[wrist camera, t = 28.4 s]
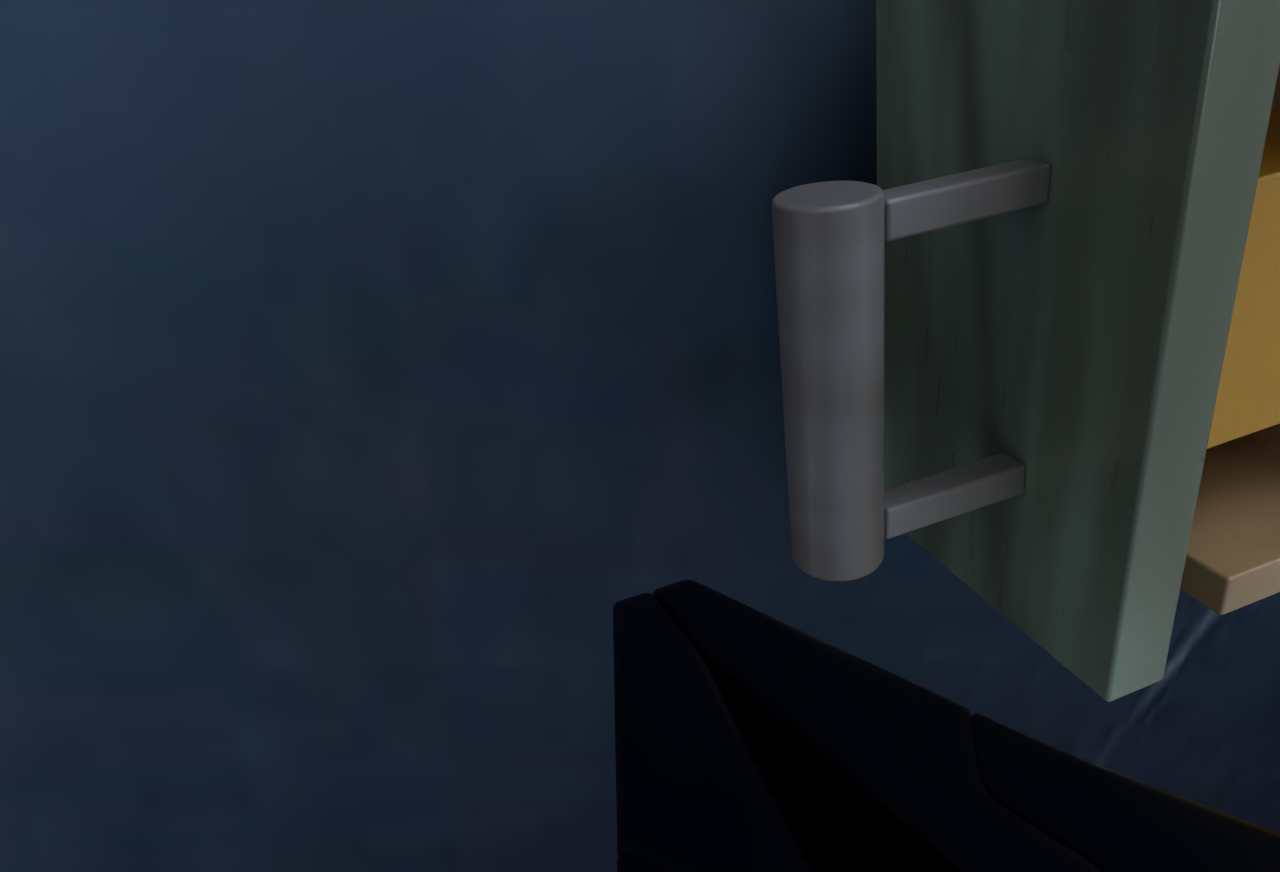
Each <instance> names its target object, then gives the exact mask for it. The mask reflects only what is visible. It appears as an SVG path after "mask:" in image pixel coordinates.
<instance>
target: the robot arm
mask: <svg viewBox="0 0 1280 872" xmlns="http://www.w3.org/2000/svg"><path fill="white" fill-rule="evenodd" d="M613 638H614V692H615V746H616V800H617V852H618V860H617V872H1280V833H1277V832H1274V831H1272V830H1269V829H1266V828H1264V827H1261V826H1258V825H1255V824H1253V823H1250V822H1247V821H1245V820H1242V819H1239V818H1237V817H1234V816H1231V815H1228V814H1226V813H1223V812H1220V811H1218V810H1215V809H1212V808H1209V807H1207V806H1204V805H1201V804H1199V803H1196V802H1193V801H1191V800H1188V799H1185V798H1182V797H1180V796H1177V795H1174V794H1172V793H1169V792H1166V791H1163V790H1161V789H1158V788H1155V787H1153V786H1150V785H1147V784H1145V783H1142V782H1139V781H1136V780H1134V779H1131V778H1129V777H1126V776H1124V775H1121V774H1119V773H1116V772H1113V771H1111V770H1108V769H1106V768H1103V767H1101V766H1098V765H1096V764H1093V763H1090V762H1088V761H1085V760H1083V759H1080V758H1078V757H1075V756H1073V755H1070V754H1068V753H1066V752H1063V751H1061V750H1059V749H1056V748H1054V747H1052V746H1050V745H1047V744H1045V743H1043V742H1040V741H1038V740H1036V739H1034V738H1031V737H1029V736H1027V735H1025V734H1022V733H1020V732H1018V731H1015V730H1013V729H1011V728H1009V727H1007V726H1005V725H1002V724H1000V723H998V722H996V721H994V720H992V719H990V718H987V717H985V716H983V715H981V714H979V713H975V714H973V715H972V717H971V712H970V710H969V709H967V708H965V707H963V706H961V705H959V704H957V703H955V702H952V701H950V700H948V699H946V698H944V697H942V696H940V695H937V694H935V693H933V692H931V691H929V690H927V689H925V688H922V687H920V686H918V685H916V684H914V683H912V682H910V681H907V680H905V679H903V678H901V677H899V676H897V675H895V674H892V673H890V672H888V671H886V670H884V669H882V668H880V667H877V666H875V665H873V664H871V663H869V662H867V661H865V660H862V659H860V658H858V657H856V656H854V655H852V654H850V653H847V652H845V651H843V650H841V649H839V648H837V647H835V646H832V645H830V644H828V643H826V642H824V641H822V640H820V639H817V638H815V637H813V636H811V635H809V634H807V633H805V632H802V631H800V630H798V629H796V628H794V627H792V626H790V625H787V624H785V623H783V622H781V621H779V620H777V619H775V618H772V617H770V616H768V615H766V614H764V613H762V612H760V611H757V610H755V609H753V608H751V607H749V606H747V605H745V604H742V603H740V602H738V601H736V600H734V599H732V598H730V597H727V596H725V595H723V594H721V593H719V592H717V591H715V590H712V589H710V588H708V587H706V586H704V585H702V584H700V583H697V582H695V581H693V580H682V581H679V582H676V583H673V584H670V585H667V586H664V587H661V588H658V589H656V590H655V591H654V593H653V595H652V594H650V593H643V594H640V595H637V596H634V597H630V598H627V599H624V600H621V601H618V602H616V603H615V605H614V607H613Z"/></svg>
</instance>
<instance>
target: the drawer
mask: <svg viewBox="0 0 1280 872" xmlns="http://www.w3.org/2000/svg"><path fill="white" fill-rule="evenodd" d="M1272 108H1277V109H1280V0H876V148H877V185H874V184H870V183H866V182H859V181H825V182H816V183H810V184H805V185H800V186H796V187H793V188H790V189H787V190H785V191H782V192H780V193H778V194H777V195H776V196H775V197H774V198H773V200H772V203H771V208H772V225H773V242H774V260H775V277H776V295H777V312H778V330H779V347H780V365H781V382H782V400H783V417H784V435H785V452H786V470H787V487H788V505H789V522H790V539H791V555H792V559H793V560H794V562H795V564H796V565H797V567H798V568H799V569H800V570H801V571H803V572H804V573H806V574H808V575H810V576H812V577H814V578H817V579H821V580H826V581H837V582H839V581H851V580H856V579H859V578H862V577H865V576H867V575H869V574H871V573H872V572H873V571H875V570H876V569H877V568H878V567H879V565H880V564H881V562H882V560H883V557H884V537H885V538H887V539H890V538H893V537H896V536H899V535H902V534H906V535H907V536H909V537H910V538H911V539H912V540H913V541H915V542H916V543H917V544H918V545H919V546H921V547H922V548H923V549H924V550H925V551H927V552H928V553H929V554H930V555H931V556H933V557H934V558H935V559H936V560H937V561H939V562H940V563H941V564H942V565H943V566H944V567H946V568H947V569H948V570H949V571H950V572H952V573H953V574H954V575H955V576H956V577H958V578H959V579H960V580H961V581H962V582H964V583H965V584H966V585H967V586H968V587H970V588H971V589H972V590H973V591H974V592H976V593H977V594H978V595H979V596H980V597H982V598H983V599H984V600H985V601H986V602H988V603H989V604H990V605H991V606H992V607H994V608H995V609H996V610H997V611H998V612H1000V613H1001V614H1002V615H1003V616H1004V617H1006V618H1007V619H1008V620H1009V621H1010V622H1012V623H1013V624H1014V625H1015V626H1016V627H1018V628H1019V629H1020V630H1021V631H1022V632H1024V633H1025V634H1026V635H1027V636H1028V637H1030V638H1031V639H1032V640H1033V641H1034V642H1036V643H1037V644H1038V645H1039V646H1040V647H1042V648H1043V649H1044V650H1045V651H1046V652H1048V653H1049V654H1050V655H1051V656H1052V657H1054V658H1055V659H1056V660H1057V661H1058V662H1060V663H1061V664H1062V665H1063V666H1064V667H1066V668H1067V669H1068V670H1069V671H1070V672H1072V673H1073V674H1074V675H1075V676H1076V677H1078V678H1079V679H1080V680H1081V681H1082V682H1084V683H1085V684H1086V685H1087V686H1088V687H1090V688H1091V689H1092V690H1093V691H1094V692H1096V693H1097V694H1098V695H1099V696H1100V697H1102V698H1103V699H1104V700H1105V701H1107V702H1111V701H1113V700H1116V699H1118V698H1121V697H1123V696H1125V695H1128V694H1130V693H1133V692H1135V691H1137V690H1140V689H1142V688H1144V687H1147V686H1149V685H1152V684H1154V683H1156V682H1159V681H1161V680H1162V678H1163V677H1164V671H1165V666H1166V661H1167V656H1168V650H1169V645H1170V640H1171V635H1172V629H1173V624H1174V619H1175V614H1176V608H1177V603H1178V598H1179V593H1180V590H1182V591H1183V592H1185V593H1187V594H1188V595H1190V596H1191V597H1193V598H1194V599H1196V600H1197V601H1199V602H1201V603H1202V604H1204V605H1205V606H1207V607H1208V608H1210V609H1211V610H1213V611H1215V612H1216V613H1218V614H1220V615H1224V614H1227V613H1229V612H1232V611H1234V610H1237V609H1239V608H1241V607H1244V606H1246V605H1249V604H1251V603H1254V602H1256V601H1259V600H1261V599H1264V598H1266V597H1269V596H1271V595H1274V594H1276V593H1278V592H1280V424H1277V425H1274V426H1272V427H1269V428H1266V429H1263V430H1260V431H1257V432H1254V433H1251V434H1248V435H1246V436H1243V437H1240V438H1237V439H1234V440H1231V441H1228V442H1225V443H1222V444H1220V445H1217V446H1214V447H1211V448H1208V449H1207V445H1208V440H1209V435H1210V430H1211V424H1212V419H1213V414H1214V409H1215V403H1216V398H1217V393H1218V388H1219V382H1220V377H1221V372H1222V367H1223V361H1224V356H1225V351H1226V346H1227V340H1228V335H1229V330H1230V325H1231V319H1232V314H1233V309H1234V304H1235V298H1236V293H1237V288H1238V283H1239V277H1240V272H1241V267H1242V262H1243V256H1244V251H1245V246H1246V241H1247V235H1248V230H1249V225H1250V219H1251V214H1252V209H1253V204H1254V198H1255V193H1256V188H1257V183H1258V177H1259V172H1260V167H1261V162H1262V156H1263V151H1264V146H1265V141H1266V135H1267V130H1268V125H1269V120H1270V114H1271V109H1272Z"/></svg>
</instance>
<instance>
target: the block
mask: <svg viewBox="0 0 1280 872" xmlns="http://www.w3.org/2000/svg"><path fill="white" fill-rule="evenodd" d="M1277 424H1280V109H1277V108H1272V109H1271V114H1270V120H1269V125H1268V130H1267V135H1266V141H1265V146H1264V151H1263V156H1262V162H1261V167H1260V172H1259V177H1258V183H1257V188H1256V193H1255V198H1254V204H1253V209H1252V214H1251V219H1250V225H1249V230H1248V235H1247V241H1246V246H1245V251H1244V256H1243V262H1242V267H1241V272H1240V277H1239V283H1238V288H1237V293H1236V298H1235V304H1234V309H1233V314H1232V319H1231V325H1230V330H1229V335H1228V340H1227V346H1226V351H1225V356H1224V361H1223V367H1222V372H1221V377H1220V382H1219V388H1218V393H1217V398H1216V403H1215V409H1214V414H1213V419H1212V424H1211V430H1210V435H1209V440H1208V445H1207V449H1208V448H1211V447H1214V446H1217V445H1220V444H1222V443H1225V442H1228V441H1231V440H1234V439H1237V438H1240V437H1243V436H1246V435H1248V434H1251V433H1254V432H1257V431H1260V430H1263V429H1266V428H1269V427H1272V426H1274V425H1277Z"/></svg>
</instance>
